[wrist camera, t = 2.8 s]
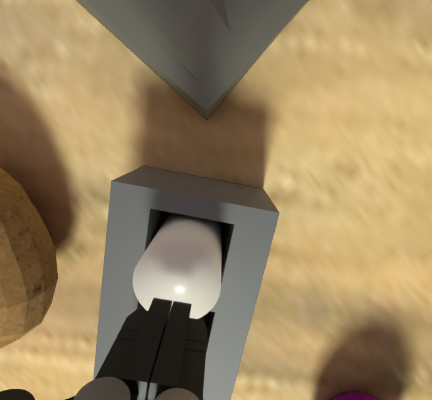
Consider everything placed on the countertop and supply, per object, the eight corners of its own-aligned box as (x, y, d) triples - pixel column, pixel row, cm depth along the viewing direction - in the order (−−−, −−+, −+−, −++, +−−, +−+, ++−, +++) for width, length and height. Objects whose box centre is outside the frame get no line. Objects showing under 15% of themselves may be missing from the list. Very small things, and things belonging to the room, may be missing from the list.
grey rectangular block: (144, 166, 20) (111, 180, 14) (263, 188, 20) (279, 212, 14) (120, 360, 24) (88, 432, 19) (217, 377, 25) (216, 454, 19)
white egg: (166, 200, 17) (137, 236, 12) (227, 212, 17) (228, 253, 12) (158, 256, 18) (128, 314, 13) (215, 266, 18) (212, 329, 13)
